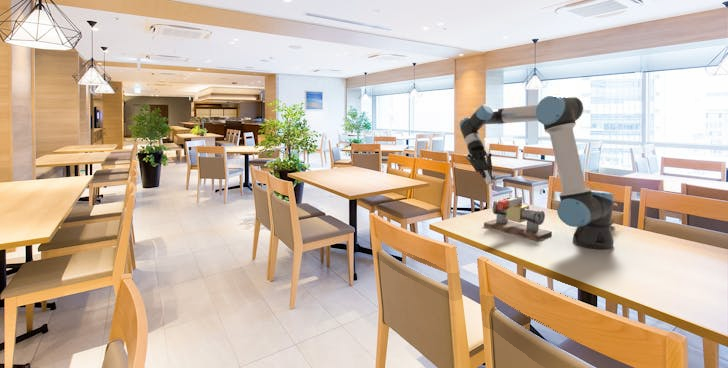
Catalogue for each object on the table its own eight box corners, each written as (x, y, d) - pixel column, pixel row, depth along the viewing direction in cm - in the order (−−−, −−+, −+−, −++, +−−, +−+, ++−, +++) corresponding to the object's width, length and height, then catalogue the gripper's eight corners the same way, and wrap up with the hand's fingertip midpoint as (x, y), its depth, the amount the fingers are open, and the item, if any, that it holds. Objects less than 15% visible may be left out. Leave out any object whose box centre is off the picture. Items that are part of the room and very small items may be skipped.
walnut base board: (551, 235, 178) (551, 231, 178) (537, 241, 171) (537, 236, 171) (498, 222, 200) (498, 218, 200) (483, 226, 193) (484, 222, 193)
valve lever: (516, 203, 186) (517, 195, 185) (523, 204, 183) (524, 196, 182) (496, 209, 176) (496, 200, 175) (503, 210, 173) (504, 202, 172)
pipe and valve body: (543, 231, 178) (545, 209, 176) (535, 234, 174) (537, 211, 172) (499, 220, 197) (501, 200, 195) (491, 222, 193) (492, 202, 191)
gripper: (483, 148, 200) (498, 186, 187) (459, 149, 198) (473, 188, 185) (489, 139, 194) (505, 177, 181) (464, 139, 191) (479, 179, 179)
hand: (489, 183), depth 183 cm, fingers closed
